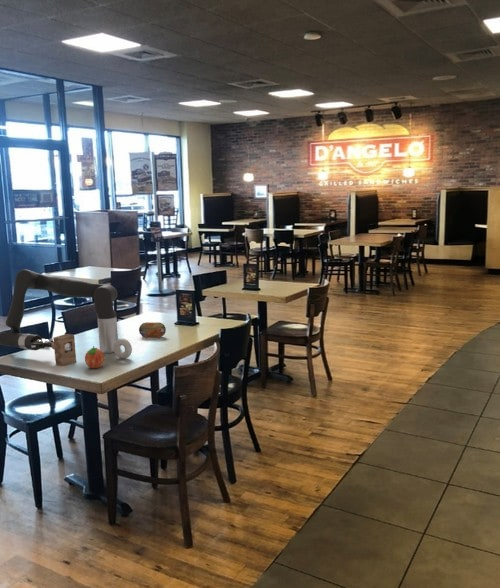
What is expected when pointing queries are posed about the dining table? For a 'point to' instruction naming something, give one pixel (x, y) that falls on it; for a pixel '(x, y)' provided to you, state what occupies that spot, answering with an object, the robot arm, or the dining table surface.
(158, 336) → the tin
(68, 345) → the peg
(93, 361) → the fruit
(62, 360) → the wooden block
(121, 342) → the donut
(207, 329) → the dining table surface
